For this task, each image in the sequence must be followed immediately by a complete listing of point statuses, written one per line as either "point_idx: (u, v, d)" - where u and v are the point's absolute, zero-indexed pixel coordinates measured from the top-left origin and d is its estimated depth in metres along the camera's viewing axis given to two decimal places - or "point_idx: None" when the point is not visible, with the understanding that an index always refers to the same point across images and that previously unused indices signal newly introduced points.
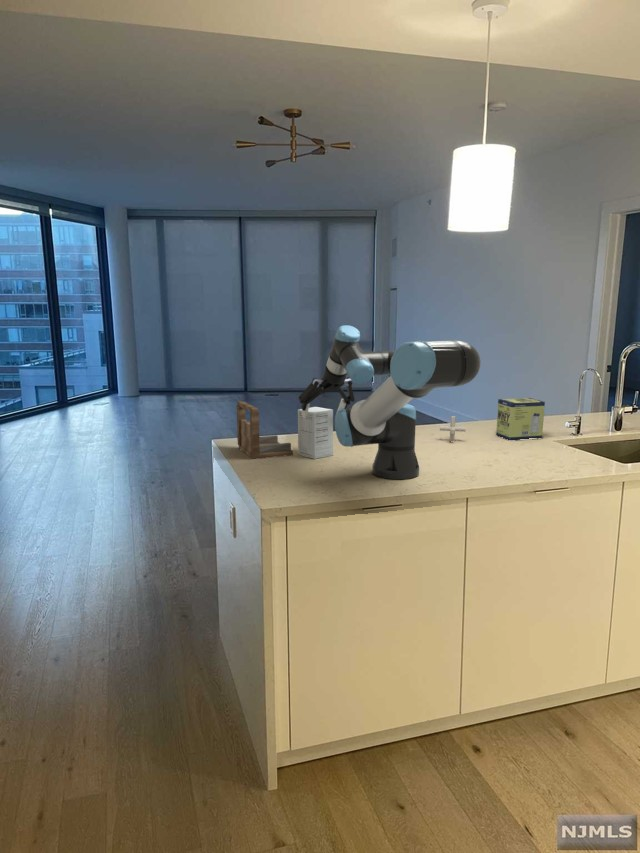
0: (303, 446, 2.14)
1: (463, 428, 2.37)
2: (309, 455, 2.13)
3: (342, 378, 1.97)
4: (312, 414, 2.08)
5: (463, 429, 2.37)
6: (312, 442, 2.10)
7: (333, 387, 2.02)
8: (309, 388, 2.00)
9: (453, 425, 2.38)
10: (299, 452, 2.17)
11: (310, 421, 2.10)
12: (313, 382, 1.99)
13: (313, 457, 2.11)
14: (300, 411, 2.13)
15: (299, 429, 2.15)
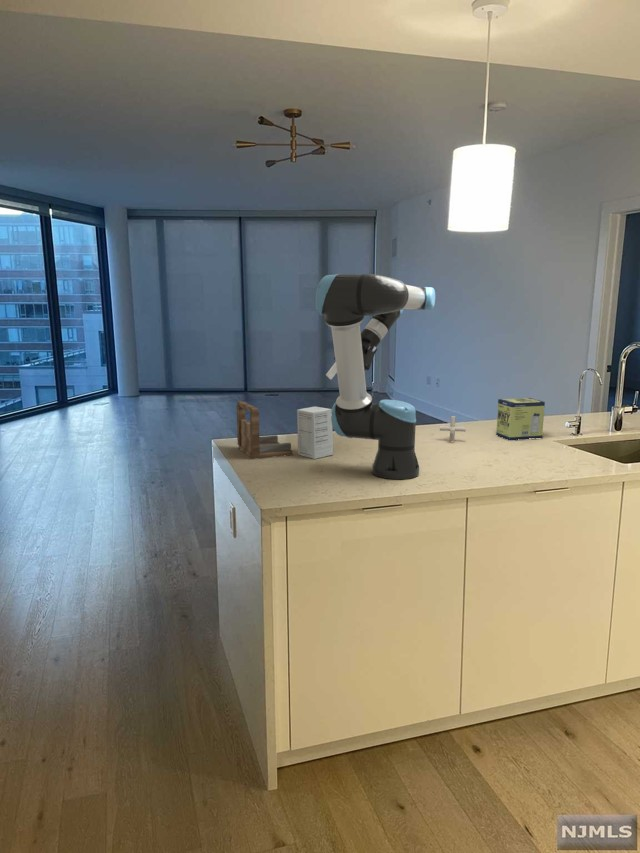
0: (303, 446, 2.14)
1: (463, 428, 2.37)
2: (309, 455, 2.13)
3: (366, 331, 2.14)
4: (312, 414, 2.08)
5: (463, 429, 2.37)
6: (312, 442, 2.10)
7: None
8: None
9: (453, 425, 2.38)
10: (299, 452, 2.17)
11: (309, 422, 2.10)
12: None
13: (313, 457, 2.11)
14: (299, 411, 2.13)
15: (298, 429, 2.15)
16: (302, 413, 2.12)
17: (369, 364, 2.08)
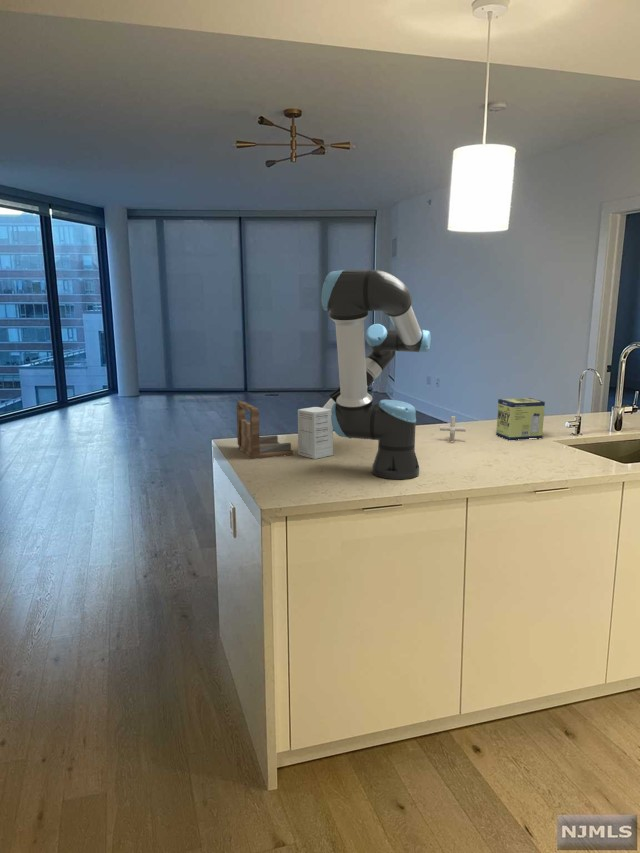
0: (303, 446, 2.14)
1: (463, 428, 2.37)
2: (309, 455, 2.13)
3: None
4: (312, 414, 2.08)
5: (463, 429, 2.37)
6: (312, 442, 2.10)
7: None
8: None
9: (453, 425, 2.38)
10: (299, 452, 2.17)
11: (310, 421, 2.10)
12: None
13: (313, 457, 2.11)
14: (300, 411, 2.13)
15: (299, 429, 2.15)
16: (303, 413, 2.12)
17: None
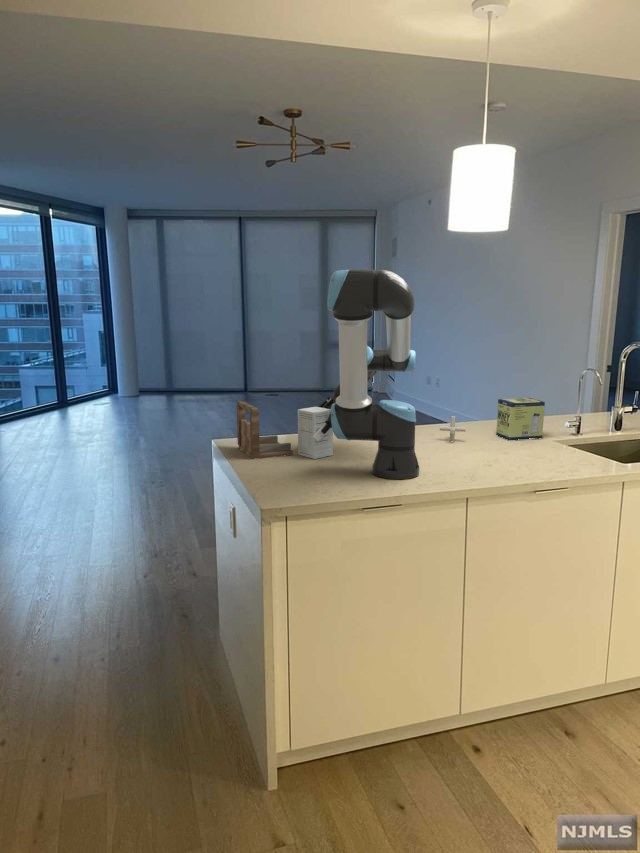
0: (303, 446, 2.14)
1: (463, 428, 2.37)
2: (309, 455, 2.13)
3: (340, 387, 2.15)
4: (312, 414, 2.08)
5: (463, 429, 2.37)
6: (312, 442, 2.10)
7: (333, 403, 2.16)
8: None
9: (453, 425, 2.38)
10: (299, 452, 2.17)
11: (310, 421, 2.10)
12: None
13: (313, 457, 2.11)
14: (300, 411, 2.13)
15: (299, 429, 2.15)
16: (303, 412, 2.12)
17: None
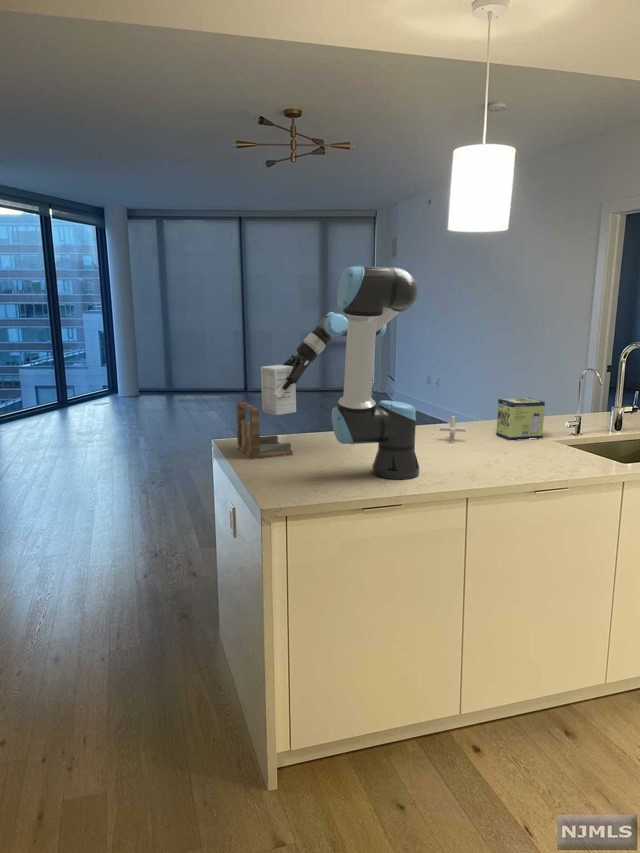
0: (266, 403, 2.18)
1: (463, 428, 2.37)
2: (272, 411, 2.16)
3: (302, 344, 2.18)
4: (273, 370, 2.11)
5: (463, 429, 2.37)
6: (274, 398, 2.14)
7: None
8: None
9: (453, 425, 2.38)
10: (263, 409, 2.20)
11: (271, 378, 2.13)
12: None
13: (275, 413, 2.15)
14: (263, 368, 2.16)
15: (262, 387, 2.19)
16: (265, 370, 2.15)
17: (297, 378, 2.11)
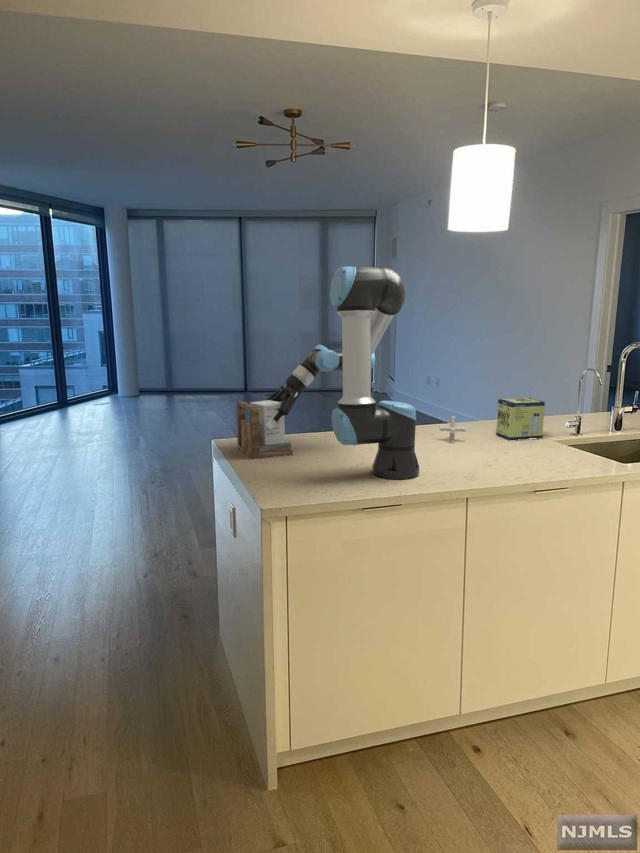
0: None
1: (463, 428, 2.37)
2: None
3: (291, 377, 2.19)
4: (262, 407, 2.13)
5: (463, 429, 2.37)
6: (263, 434, 2.15)
7: None
8: None
9: (453, 425, 2.38)
10: None
11: (260, 414, 2.15)
12: None
13: None
14: (252, 404, 2.18)
15: None
16: (254, 406, 2.17)
17: (288, 409, 2.12)
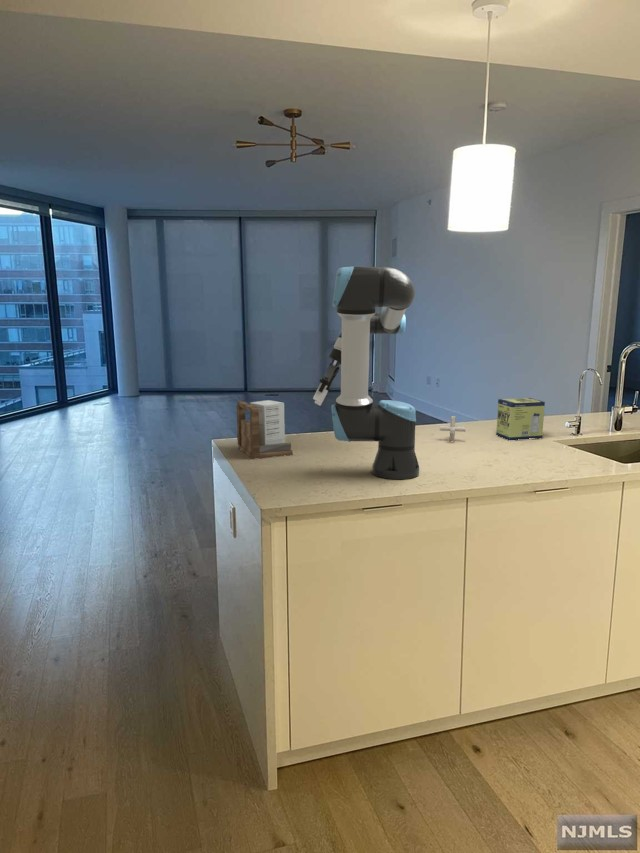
0: None
1: (463, 428, 2.37)
2: None
3: None
4: (262, 407, 2.13)
5: (463, 429, 2.37)
6: (263, 434, 2.15)
7: None
8: None
9: (453, 425, 2.38)
10: None
11: (260, 414, 2.15)
12: None
13: None
14: (252, 404, 2.18)
15: None
16: (254, 406, 2.17)
17: (328, 377, 2.16)
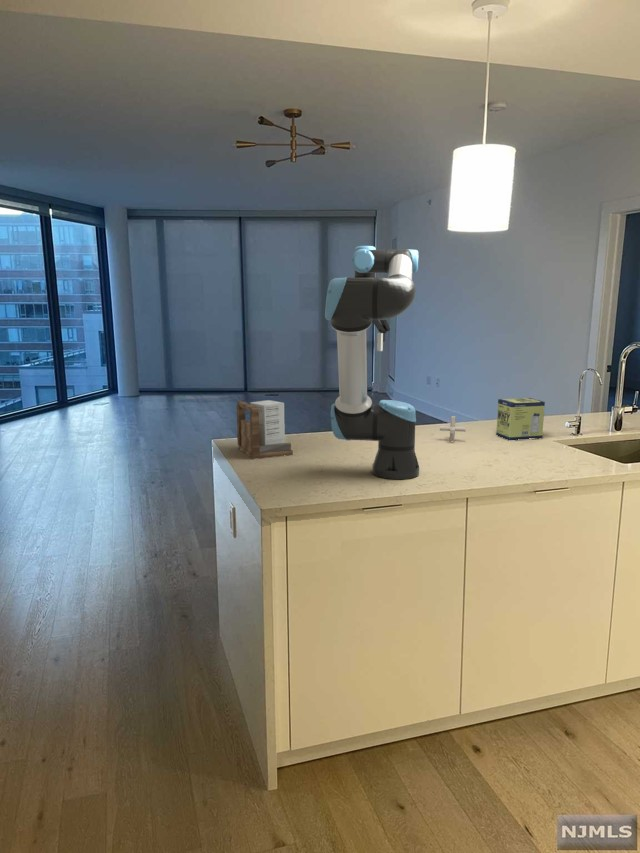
0: None
1: (463, 428, 2.37)
2: None
3: None
4: (263, 407, 2.13)
5: (463, 429, 2.37)
6: (263, 434, 2.15)
7: None
8: None
9: (453, 425, 2.38)
10: None
11: (260, 414, 2.15)
12: None
13: None
14: (252, 404, 2.18)
15: None
16: (254, 406, 2.17)
17: None
